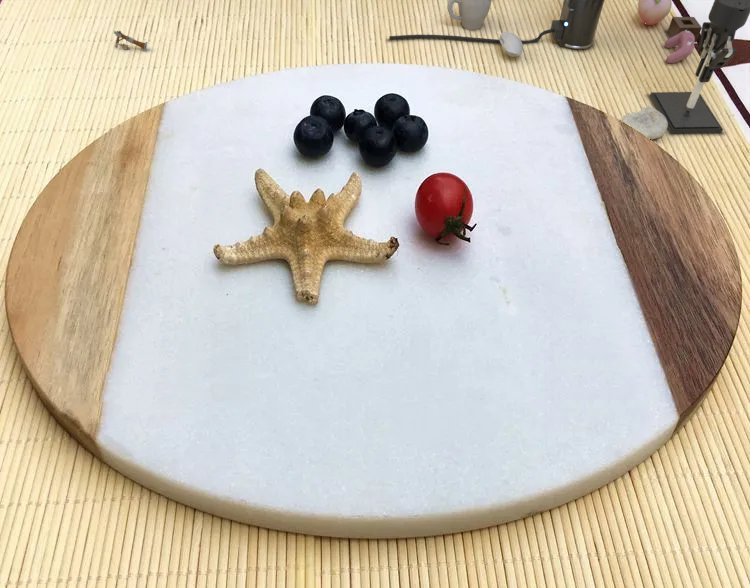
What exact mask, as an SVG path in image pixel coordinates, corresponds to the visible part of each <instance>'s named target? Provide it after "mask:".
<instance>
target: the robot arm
mask: <svg viewBox="0 0 750 588" xmlns="http://www.w3.org/2000/svg"><path fill="white" fill-rule="evenodd" d="M604 4H605V0H563V4H562V7H561V11H560V15H559V19H552V21H551V25H550V28H549V29H546V30H543V31H542V32H540V33H539V35H538V36H537V37H535V38H533V39H530V40H521V42H522V45H528V44H533V43H537V42H539V41H540V40H541V39H542V38H543V37H544V35H547V34H551V36H552V38H553V40H554V41H557V42H558V44H559V46H560V47H561V48H567V49H571V50H578V51H579V50H586V49H589V48H591V47H592V46H593V44H594V39H595V36H596V32H597V28H598V25H599V21H600V17H601V14H602V10H603V8H604ZM749 16H750V0H714V1H713V4H712V6H711V8H710V11H709V13H708V17H707V18H708V20H709V21H704V22H702V25H701V27H702V29H701V31H700V38H699V45H698V53H701V54H700V56H699V58H700V60H699V63H698V65H697V68H696V70H695V73H694V76H695V77H696V78H698V76H699V74H700V71H701V69H702V67H703V64H704V62H705V59H706V57H707V55H709V56H708V59H707V61H706V65H705V66H704V68H703V70H702V73H701V75H700V77H699V81H700V82H705V83H709V82H710V81H711V78H712V76H713V74H714V71H715V69H722V68H723V67H725V66H726V64H727V63H728V62H729V61H730V60H731V59H732V58H733V57H734V56H735V55H736V53H737V48H733V42H734V40H735V36H736V32H737V31H738V30H739V29H740V28H743V27H744V26H745V25H746V23H747V21H748V18H749ZM408 39H439V40H440V39H441V40H457V41H465V42H467V41H468V42H477V43H478V42H479V43H490V44H501V43H500V40H499V39H495V38H484V37H472V36H460V35H450V34H449V35H446V34H402V35H401V34H400V35H389V37H388V40H390V41H392V40H395V41H396V40H408ZM713 57H716V58H715V59H714V60H713V61H712V59H713Z"/></svg>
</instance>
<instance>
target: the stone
mask: <svg viewBox="0 0 750 588" xmlns="http://www.w3.org/2000/svg"><path fill="white" fill-rule="evenodd" d="M498 40H500V43H499V44H500V45H501V46H502V49H503V51H504V53H505V54H506V55H507V56H508V57H510V58H518V57H521V55H522V54H523V49H524V44H522V42H521V41H522V40H521V38H520V37H519V36H518V35H517V34H515V33H513V32H510V31H504V32H502V33H501V34H500V35H499V38H498Z"/></svg>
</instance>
